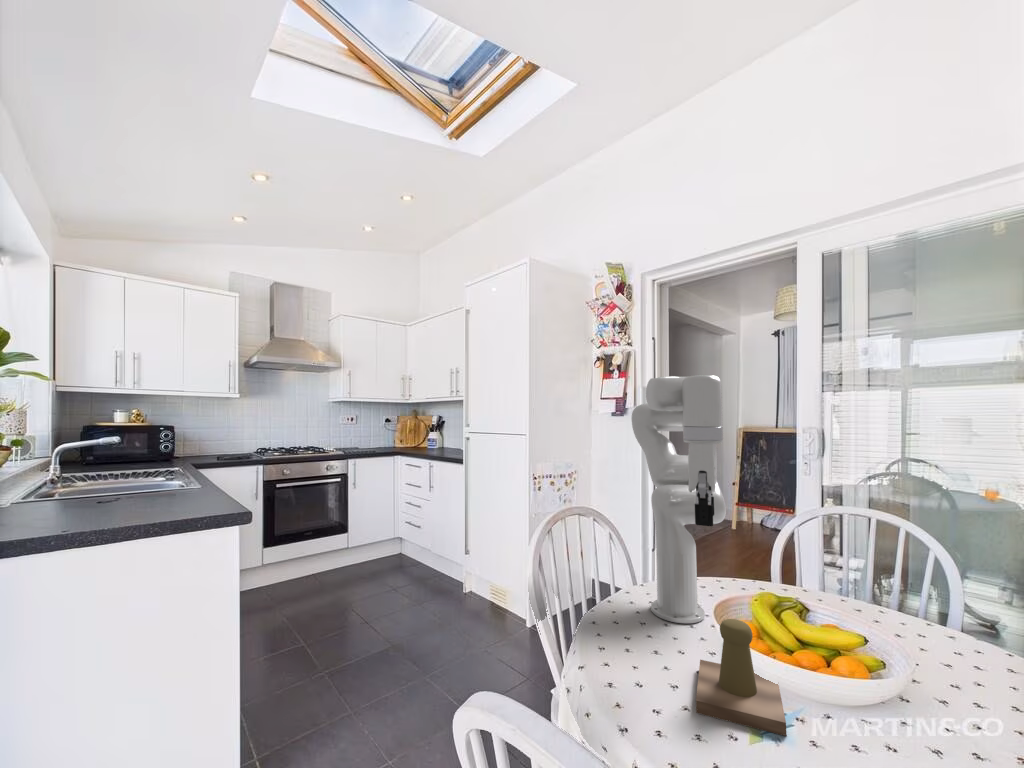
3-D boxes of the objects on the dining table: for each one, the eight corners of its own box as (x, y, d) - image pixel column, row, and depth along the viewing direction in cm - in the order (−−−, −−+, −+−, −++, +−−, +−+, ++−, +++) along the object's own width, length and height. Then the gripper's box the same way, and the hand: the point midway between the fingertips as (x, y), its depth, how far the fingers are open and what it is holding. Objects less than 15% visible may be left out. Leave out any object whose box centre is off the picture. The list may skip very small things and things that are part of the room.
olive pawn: (717, 691, 79) (715, 625, 79) (719, 673, 84) (717, 612, 85) (757, 701, 76) (755, 633, 77) (756, 682, 81) (754, 618, 82)
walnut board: (700, 670, 89) (700, 659, 89) (777, 687, 83) (776, 675, 83) (696, 713, 76) (695, 700, 76) (786, 736, 70) (786, 722, 71)
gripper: (686, 433, 103) (688, 510, 102) (679, 437, 87) (681, 527, 86) (723, 434, 100) (725, 513, 99) (722, 438, 84) (725, 532, 83)
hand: (705, 520), depth 92 cm, fingers open, 9 cm apart
